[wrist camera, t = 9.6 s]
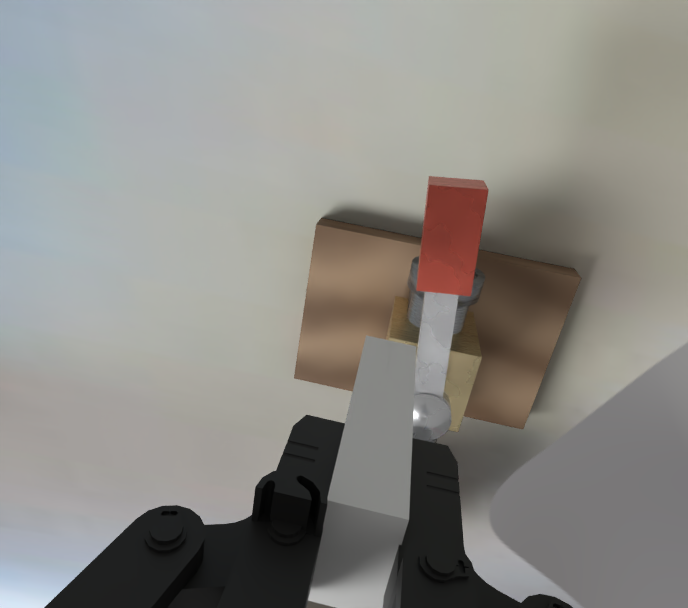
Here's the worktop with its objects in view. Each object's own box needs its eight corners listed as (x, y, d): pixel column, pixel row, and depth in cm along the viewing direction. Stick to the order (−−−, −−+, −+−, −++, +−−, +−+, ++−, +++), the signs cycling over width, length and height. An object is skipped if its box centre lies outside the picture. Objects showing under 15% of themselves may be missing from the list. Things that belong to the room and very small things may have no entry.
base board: (519, 415, 46) (523, 429, 44) (299, 366, 47) (294, 378, 45) (574, 268, 40) (581, 278, 38) (321, 217, 41) (316, 224, 39)
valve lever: (446, 427, 33) (448, 452, 31) (396, 420, 33) (394, 444, 31) (487, 180, 27) (492, 190, 25) (425, 175, 27) (424, 184, 25)
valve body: (441, 411, 44) (444, 496, 35) (372, 395, 45) (358, 476, 36) (486, 258, 39) (504, 314, 29) (407, 242, 39) (400, 293, 30)
